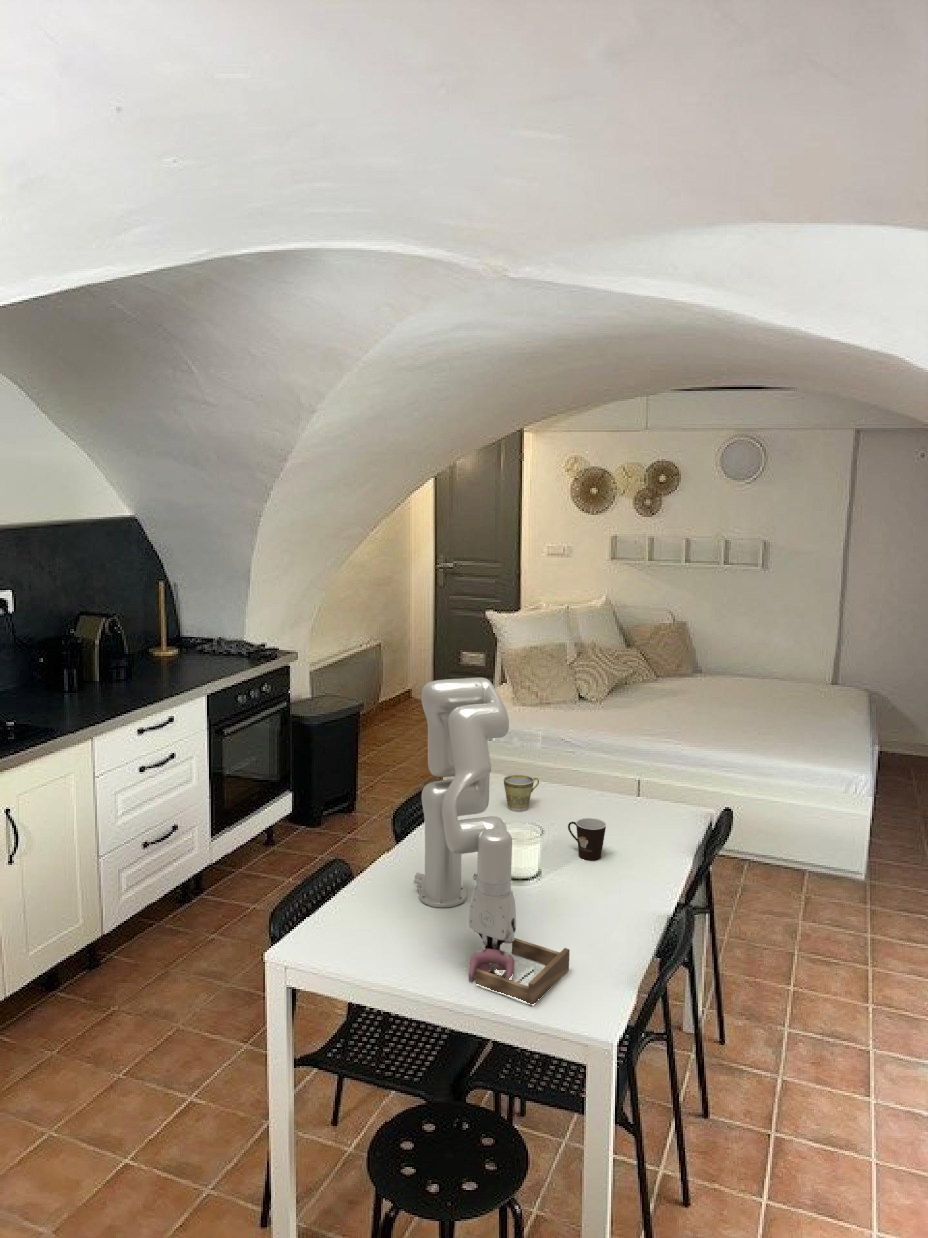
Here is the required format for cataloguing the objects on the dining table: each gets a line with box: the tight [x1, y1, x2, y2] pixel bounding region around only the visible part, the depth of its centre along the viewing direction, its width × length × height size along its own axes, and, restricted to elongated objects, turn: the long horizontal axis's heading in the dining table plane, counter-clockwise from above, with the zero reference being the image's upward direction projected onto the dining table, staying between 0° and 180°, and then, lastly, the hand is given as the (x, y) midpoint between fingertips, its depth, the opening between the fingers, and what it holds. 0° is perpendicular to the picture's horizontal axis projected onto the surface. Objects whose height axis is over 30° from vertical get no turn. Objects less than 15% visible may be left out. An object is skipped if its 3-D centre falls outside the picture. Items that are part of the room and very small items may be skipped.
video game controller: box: [468, 948, 515, 981], centre depth 202 cm, size 10×5×7 cm, turn 78°
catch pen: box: [474, 937, 570, 1004], centre depth 202 cm, size 14×17×5 cm
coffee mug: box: [567, 817, 607, 862], centre depth 266 cm, size 12×9×10 cm
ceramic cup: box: [503, 773, 540, 813], centre depth 303 cm, size 13×10×10 cm
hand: (492, 960), depth 206 cm, fingers closed
